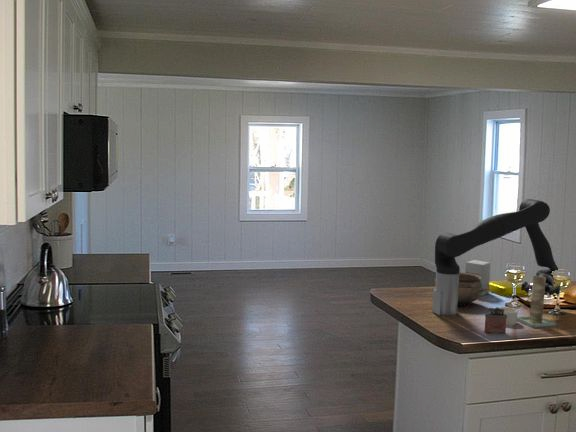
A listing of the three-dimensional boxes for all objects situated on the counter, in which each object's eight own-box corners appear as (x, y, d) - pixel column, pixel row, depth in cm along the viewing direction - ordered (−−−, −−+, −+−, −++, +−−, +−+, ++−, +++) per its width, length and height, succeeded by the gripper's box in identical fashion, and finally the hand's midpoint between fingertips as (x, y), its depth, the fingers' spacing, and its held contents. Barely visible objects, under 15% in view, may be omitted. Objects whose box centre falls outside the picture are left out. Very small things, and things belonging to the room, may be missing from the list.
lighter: (503, 333, 240) (505, 306, 239) (507, 335, 237) (509, 309, 235) (482, 332, 240) (484, 306, 239) (485, 335, 236) (487, 308, 235)
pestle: (534, 324, 250) (538, 278, 248) (526, 320, 254) (530, 276, 252) (544, 323, 251) (548, 278, 249) (536, 320, 256) (540, 275, 253)
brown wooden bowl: (423, 301, 285) (424, 274, 283) (443, 294, 299) (445, 269, 297) (476, 312, 268) (477, 284, 267) (495, 305, 282) (497, 277, 281)
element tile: (483, 290, 312) (484, 280, 312) (508, 288, 318) (509, 278, 317) (504, 297, 298) (505, 287, 298) (530, 295, 304) (531, 285, 303)
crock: (502, 326, 248) (503, 312, 248) (490, 321, 256) (491, 307, 255) (520, 325, 251) (521, 311, 250) (507, 319, 258) (508, 306, 258)
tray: (532, 329, 246) (533, 324, 246) (514, 321, 256) (515, 316, 256) (556, 327, 249) (557, 323, 249) (538, 320, 259) (538, 315, 259)
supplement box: (471, 290, 310) (473, 259, 309) (489, 293, 305) (491, 262, 303) (463, 293, 303) (465, 261, 302) (481, 296, 298) (483, 264, 296)
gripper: (526, 273, 269) (520, 280, 255) (563, 277, 262) (558, 284, 248) (525, 290, 270) (518, 298, 256) (561, 295, 263) (557, 303, 249)
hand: (538, 291), depth 252 cm, fingers open, 8 cm apart
